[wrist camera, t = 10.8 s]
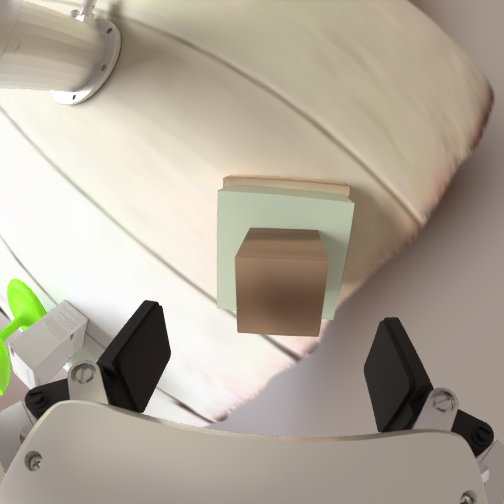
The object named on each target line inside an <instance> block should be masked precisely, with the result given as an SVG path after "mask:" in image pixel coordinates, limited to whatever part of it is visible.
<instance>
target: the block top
mask: <svg viewBox="0 0 504 504" xmlns="http://www.w3.org/2000/svg"><path fill="white" fill-rule="evenodd" d="M354 205H355V203H354V202H353V201H351V200H350V199H349V198H348V197H346V196H345V195H342V194H334V193H325V192H317V191H307V190H297V189H286V188H274V187H261V186H246V185H228V186H226V187H224V188H222V189H220V190H219V191H218V209H217V308H219V309H227V310H235V311H237V308H236V282H235V256H236V254H237V252H238V250H239V248H240V246H241V244H242V242H243V240H244V238H245V236H246V234H247V232H248V230H249V228H281V229H307V230H318V232H319V235H320V238H321V240H322V243H323V246H324V249H325V252H326V255H327V258H328V261H329V263H328V272H327V281H326V289H325V297H324V304H323V311H322V318H321V319H328V320H333V317H334V313H335V309H336V304H337V300H338V296H339V291H340V286H341V281H342V277H343V272H344V266H345V261H346V256H347V250H348V244H349V238H350V232H351V226H352V219H353V212H354Z"/></svg>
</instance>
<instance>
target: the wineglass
mask: <svg viewBox="0 0 504 504" xmlns="http://www.w3.org/2000/svg"><path fill="white" fill-rule="evenodd" d="M7 297H8V302H9V306H10V309H11V311H12V314H13V316H14V318H15V319H14V320H13V321H12V322H11V323H9V324H8V325H7V326H6V327H5V328H3V329H2V330H1V331H0V395H3V394H4V392H5V390H6V389H7V387H8V383H9V380H10V361H9V355H8V352H7V350H6V347H5V344H4V342H3V341H4V340H5V339H6V338H8V337H9V336H10V335H11V334H12V333H13V332H14V331H16V330H17V329H18V328H19V327H21V329H22V330H23V331H25V330H26V329H28V328H29V327H30V326H31V325H33V324H34V323H35V322H36V321H38V320H39V319H40V318H42V317H43V316H44V315H46V312H45V310H44V308H43V306H42V304H41V303H40V301H39V300H38V298H37V297H36V295H35V294H34V293H33V292H32V290H31V289H30V288H29V287H28V286H27V285H26V284H25V283H23V282H22V281H20V280H18V279H13V280H11V281H10V283H9V285H8V288H7Z"/></svg>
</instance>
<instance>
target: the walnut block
mask: <svg viewBox="0 0 504 504" xmlns="http://www.w3.org/2000/svg"><path fill="white" fill-rule="evenodd" d="M328 263H329V261H328V258H327V255H326V252H325V249H324V246H323V243H322V240H321V238H320V235H319V232H318V230H307V229H281V228H249V230H248V232H247V234H246V236H245V238H244V240H243V242H242V244H241V246H240V248H239V250H238V252H237V254H236V256H235V282H236V308H237V331H238V332H239V333H252V334H266V335H285V336H314V337H319V331H320V325H321V318H322V311H323V304H324V297H325V289H326V281H327V272H328Z"/></svg>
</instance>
